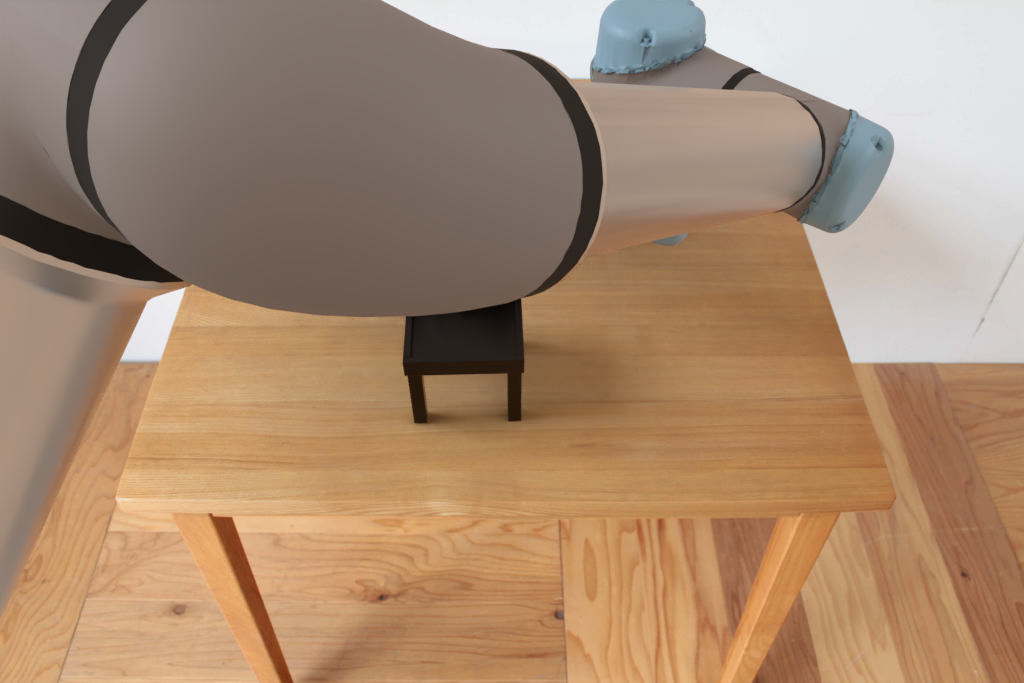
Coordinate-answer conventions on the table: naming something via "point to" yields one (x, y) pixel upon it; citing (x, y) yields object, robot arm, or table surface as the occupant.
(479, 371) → the small black table
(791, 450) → the table surface
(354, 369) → the table surface
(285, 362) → the table surface
